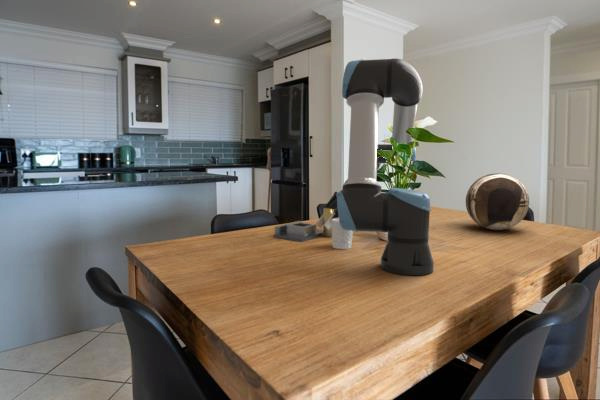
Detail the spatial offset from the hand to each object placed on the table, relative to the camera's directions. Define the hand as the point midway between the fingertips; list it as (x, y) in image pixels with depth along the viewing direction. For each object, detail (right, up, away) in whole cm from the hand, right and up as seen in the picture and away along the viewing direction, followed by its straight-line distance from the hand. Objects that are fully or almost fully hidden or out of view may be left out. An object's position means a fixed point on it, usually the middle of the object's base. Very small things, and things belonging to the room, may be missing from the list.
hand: (322, 226), depth 157 cm
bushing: (+3, -4, +2) cm, 5 cm away
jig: (-9, -4, +3) cm, 10 cm away
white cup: (+6, -7, -16) cm, 18 cm away
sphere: (+78, -3, +18) cm, 80 cm away
